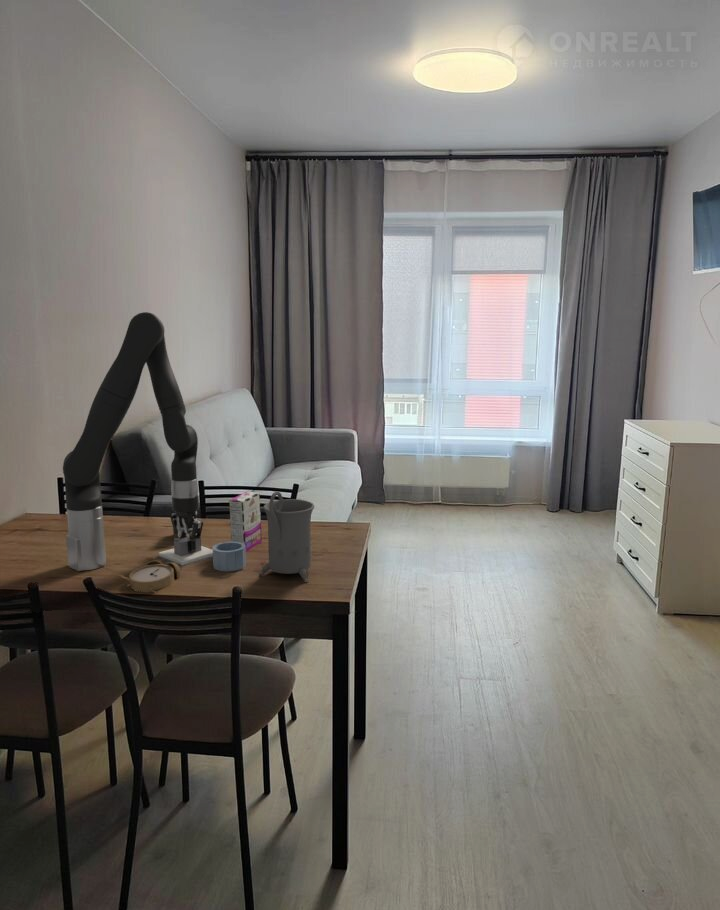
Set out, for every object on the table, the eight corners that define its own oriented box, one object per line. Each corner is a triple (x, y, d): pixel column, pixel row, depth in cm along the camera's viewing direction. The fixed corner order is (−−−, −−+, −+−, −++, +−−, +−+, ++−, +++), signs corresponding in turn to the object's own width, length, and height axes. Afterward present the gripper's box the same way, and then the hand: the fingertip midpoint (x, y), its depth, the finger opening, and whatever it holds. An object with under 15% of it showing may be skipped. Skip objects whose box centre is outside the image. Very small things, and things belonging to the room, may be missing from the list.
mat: (181, 568, 190) (181, 567, 190) (154, 557, 199) (154, 555, 199) (222, 556, 200) (221, 554, 200) (194, 546, 210) (194, 544, 209)
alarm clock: (119, 580, 174) (153, 552, 188) (122, 596, 176) (156, 567, 189) (156, 585, 171) (188, 556, 184) (159, 602, 173) (190, 572, 186)
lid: (182, 565, 191) (181, 548, 190) (159, 555, 199) (158, 539, 198) (217, 554, 200) (216, 538, 199) (193, 546, 208) (192, 530, 207)
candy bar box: (248, 541, 214) (246, 490, 211) (262, 542, 213) (260, 492, 210) (230, 552, 204) (228, 499, 201) (245, 554, 202) (243, 500, 199)
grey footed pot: (280, 560, 197) (278, 476, 192) (327, 567, 191) (326, 481, 187) (247, 583, 179) (244, 491, 175) (297, 591, 174) (295, 497, 169)
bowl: (226, 575, 185) (225, 554, 184) (207, 567, 191) (206, 547, 190) (252, 566, 192) (251, 546, 191) (232, 559, 198) (232, 539, 197)
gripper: (160, 492, 198) (163, 548, 201) (187, 500, 189) (191, 559, 192) (182, 487, 204) (185, 542, 207) (210, 495, 194) (212, 552, 197)
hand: (188, 550), depth 199 cm, fingers closed on lid, 3 cm apart
